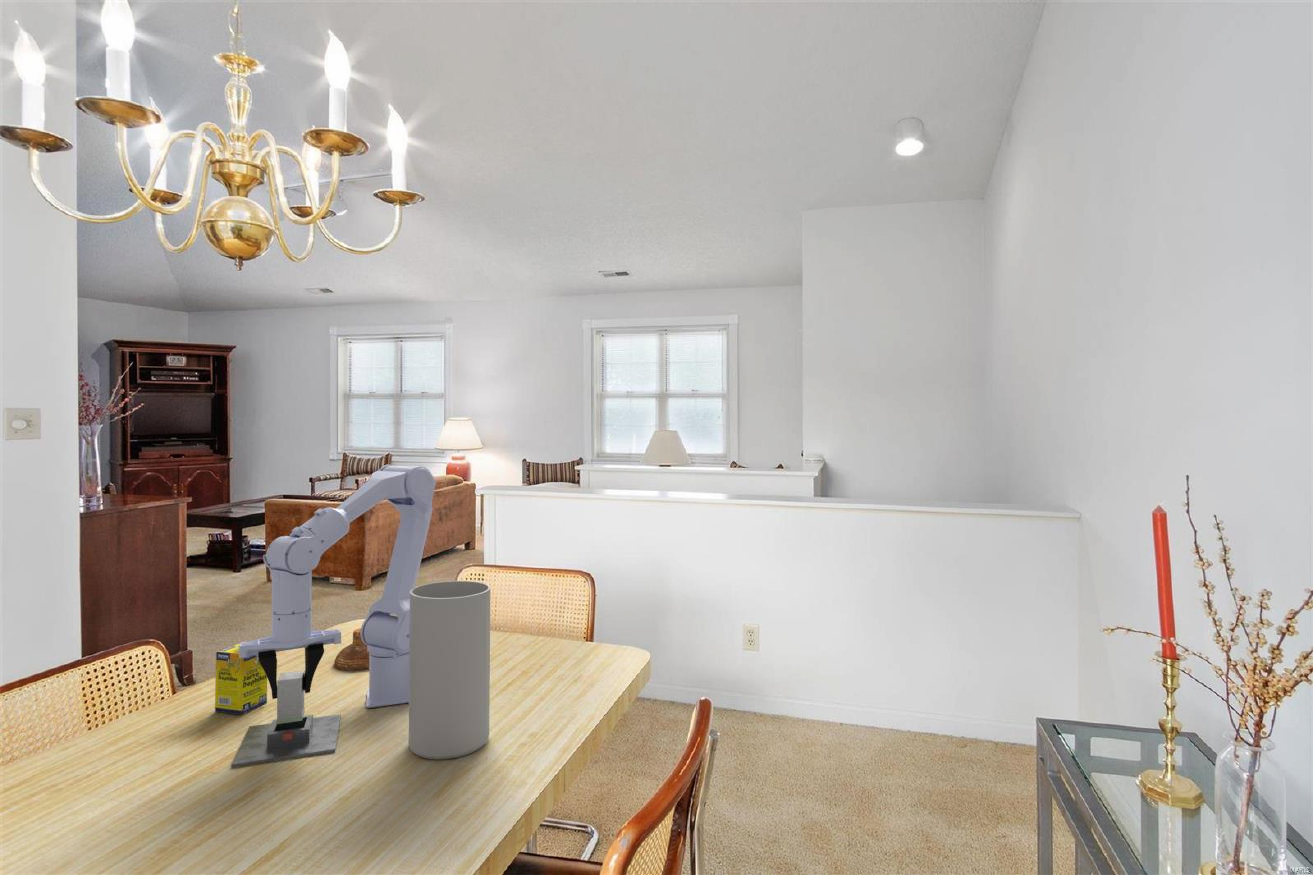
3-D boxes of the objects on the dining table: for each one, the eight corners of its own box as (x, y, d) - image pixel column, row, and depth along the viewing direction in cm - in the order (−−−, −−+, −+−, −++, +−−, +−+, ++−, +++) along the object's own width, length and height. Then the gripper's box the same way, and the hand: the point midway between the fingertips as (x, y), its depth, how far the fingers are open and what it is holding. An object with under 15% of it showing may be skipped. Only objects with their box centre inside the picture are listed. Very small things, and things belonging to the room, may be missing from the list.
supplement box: (241, 715, 118) (242, 654, 118) (213, 712, 120) (214, 651, 120) (268, 702, 124) (269, 643, 124) (241, 699, 125) (242, 641, 125)
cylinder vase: (503, 732, 113) (505, 584, 112) (458, 767, 101) (460, 601, 101) (441, 721, 117) (442, 578, 117) (391, 753, 105) (392, 594, 105)
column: (304, 712, 111) (304, 670, 111) (302, 720, 108) (302, 678, 108) (280, 715, 110) (280, 673, 110) (276, 724, 107) (276, 680, 107)
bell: (372, 650, 155) (373, 619, 155) (403, 661, 148) (403, 628, 148) (323, 664, 146) (323, 630, 146) (353, 676, 139) (353, 641, 139)
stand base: (341, 716, 118) (341, 702, 118) (335, 752, 105) (335, 735, 105) (249, 729, 113) (249, 713, 113) (231, 767, 100) (231, 750, 100)
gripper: (337, 599, 116) (336, 677, 116) (238, 610, 108) (238, 694, 109) (343, 608, 110) (342, 690, 110) (239, 621, 102) (239, 709, 103)
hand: (291, 693), depth 109 cm, fingers closed on column, 4 cm apart
